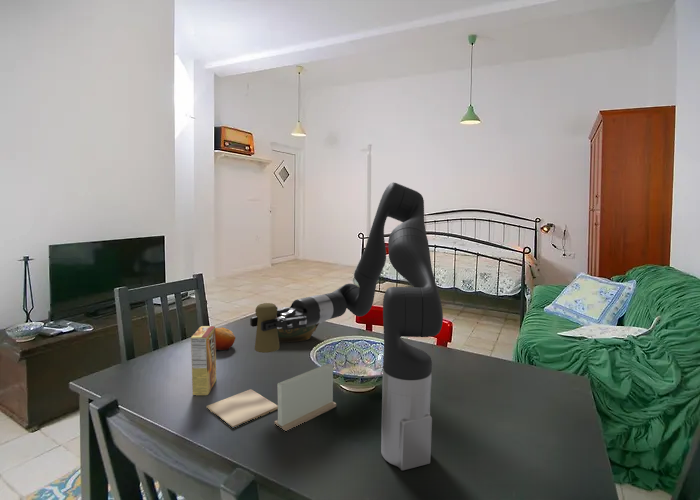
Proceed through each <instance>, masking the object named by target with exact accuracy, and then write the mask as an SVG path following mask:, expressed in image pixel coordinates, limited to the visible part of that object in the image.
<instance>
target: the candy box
mask: <svg viewBox="0 0 700 500" xmlns="http://www.w3.org/2000/svg"><path fill="white" fill-rule="evenodd" d="M215 328H216V326H214V325H213V326H211V325H202V326H199V327H198V329H197V330H196V331H195V333H193V334H192V335H191V337H190V344H191V345H190V347H191V351H190V352H191V380H192V381H191V383H192V387H191V388H192V389H191V390H192V396H193V395H196V396H208V395H209V394H210V392H211V391H212V388H213V387H214V385H215V383H216V381H217V350H216V336H215Z"/></svg>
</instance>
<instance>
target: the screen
mask: <svg viewBox="0 0 700 500" xmlns="http://www.w3.org/2000/svg"><path fill="white" fill-rule="evenodd" d="M333 375H334V365H333V364H332V363H326V364H324V365H321V366H318V367H316V368H313V369H311V370H308V371H306V372H303V373H300V374H298V375H296V376H293V377H291V378H288V379H285V380H283V381H281V382H278V383H277V387H276V388H277V390H276V391H277V406H278V409H277V420H274V425H275V424H276V425H277V426H279V427H280V428H282V429H283V430H285V431H287V430H289V429H291V428H293V427H295V428H297V427H298V425H299V426H301V425H303V424H305V423H306V422H308V421H311V420H313V419H315V418H317V417H318V416H320V415H322V414H324V413H327V412H329V411H331V410H332V409H334V408H336V407H337V403H336V402H335V401H333V400H334V397H333V396H334V393H333V391H334V389H333V388H334V385H333V383H334V382H333V381H334V376H333ZM304 422H305V423H304ZM302 423H303V424H302ZM300 424H301V425H300ZM276 425H275V426H276ZM277 426H276V427H277ZM296 426H297V427H296ZM279 427H278V428H279ZM280 428H279V429H280ZM282 429H281V430H282ZM293 429H294V428H293ZM283 430H282V431H283ZM291 430H292V429H291ZM285 431H284V432H285ZM289 431H290V430H289ZM287 432H288V431H287Z"/></svg>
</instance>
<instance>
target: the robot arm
mask: <svg viewBox="0 0 700 500" xmlns="http://www.w3.org/2000/svg"><path fill="white" fill-rule="evenodd" d="M388 217H389V218H391V219H394V220H395V221H398V222H401V223H400V224H398V225H396V226H395V228H393V229H392V231H391V233H390V234H389V237H388V241H387V242H388V245H387V246H388V259H389V262H390V264H391V266H392V267H393V269H394V270H396V273H398V274H399V275H400V276H402V277H403V278H404V279H405V280H406V281H407V282H408V283H409V284H411V285H412V286H390V287H388V288H387V289H386V290H385V292H384V295H383V302H382V319H383V320H382V321H383V322H382V323H383V324H382V325H383V326H382V327H383V361H382V387H381V389H382V392H381V393H382V395H381V397H382V399H381V440H380V441H381V443H380V444H381V445H380V453H381V456H382V457H383V459H384V460H385V461H386V462H388V463H389V464H391V465H393V466H395V467H398V468H399V469H400V471H406V470H407V471H408V470H410V469H414V468H417V467H421V466H426V465H429V464H431V455H432V454H431V452H432V427H433V426H432V425H433V418H432V416H431V395H432V394H431V393H432V391H431V390H432V372H433V371H432V369H433V368H432V367H433V362H432V361H433V360H432V357H431V356H430V354H429V353H427V352H426V351H424V350H422V349H420V348H417V347H415V346H412V345H410V344H408V343H407V342H405V341H404V340H403V339H402V338H401V337H404V338H431V337H436V336H437V335H439V334H440V333H441V330H442V329H443V328H442V327H443V321H444V312H443V311H444V310H443V306H442V300H441V295H440V293H439V289H438V285H437V282H436V279H435V276H434V272H433V267H432V259H431V252H430V245H429V240H428V236H427V231H426V224H425V200H424V197H423V195H422V193H420V192H419V191H417V190H414V189H413V188H410V187H407V186H405V185H402V184H400V183H397V182H391V183H390V184H388V185H387V186H386V188H385V190H384V191H383V194H382V196H381V198H380V200H379V203H378V206H377V209H376V213H375V216H374V219H373V220H372V221H373V222H372V225H371V228H370V231H369V234H368V238H367V240H366V241H367V242H366V245H365V248H364V249H363V250H364V251H363V252H362V255H361V256H360V259H359V262H358V264H357V266H356V268H355V270H354V273H353V277H354V280H355V281H356V282H357V284H358V285H356V284H354V283H345V284H344V285H342V286H340V287H339V288H337V289H335V290H333V291H332V292H329V293H328V292H327V293H324V294H315V295H311V296H305V297H302V298H298V299H294V301H292V303H291V304H290V306H285V307H282V308H278V306H277V305H276V307H277V315H276V316H277V318H276V317H275V319H271V320H267V321H263V322H261V330H262V331H267V330H271V329H275V328H276V329H281V328H283V330H289V329H296V328H305V327H308V326H311V325H315V324H318V323H319V324H321V323H324V322H326V321H329V320H332V319H334V318H339V317H342V316H343V315H344V314H345V313H346V312H347V310H348V311H349V312H351V313H352V314H353V315H354V316H356V317H360V318H361V317H363V316H365V315H367V314H368V313H369V312H370V311H371V309H372V306H373V304H374V299H375V294H376V293H375V292H376V288H377V284H378V283H377V282H378V280H379V278H380V276H381V273H382V272H383V269H384V268H385V264H386V262H387V249H386V242H385V225H386V221H387V219H388ZM257 322H258V317H257V316H252V317H250V322H249V323H250V324H249V325H250V327H253V328H254V327H257Z"/></svg>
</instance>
